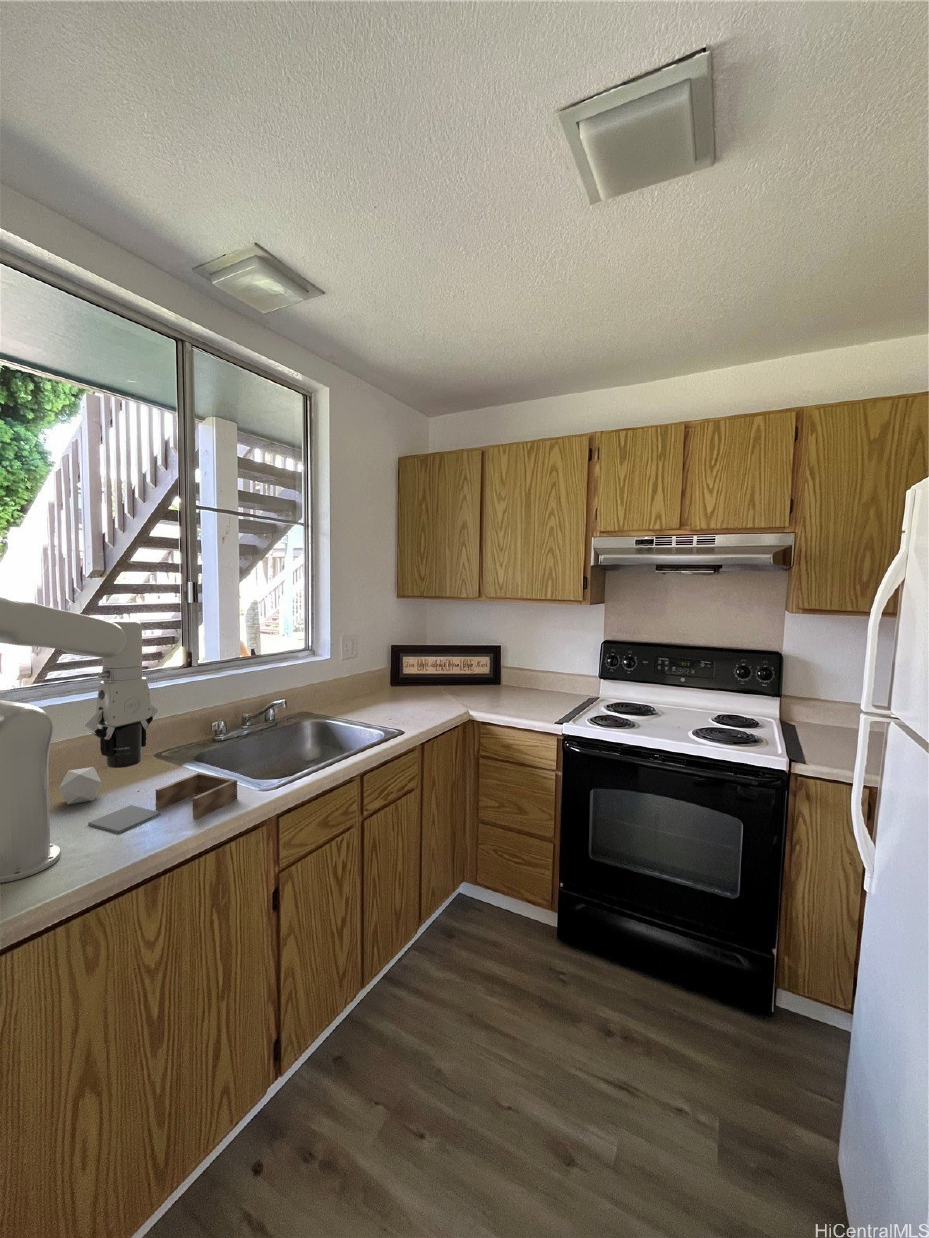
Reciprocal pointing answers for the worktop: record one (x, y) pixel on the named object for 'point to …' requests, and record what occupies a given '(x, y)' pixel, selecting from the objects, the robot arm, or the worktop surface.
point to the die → (80, 785)
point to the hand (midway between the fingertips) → (124, 749)
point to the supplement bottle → (126, 746)
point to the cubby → (210, 786)
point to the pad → (124, 819)
